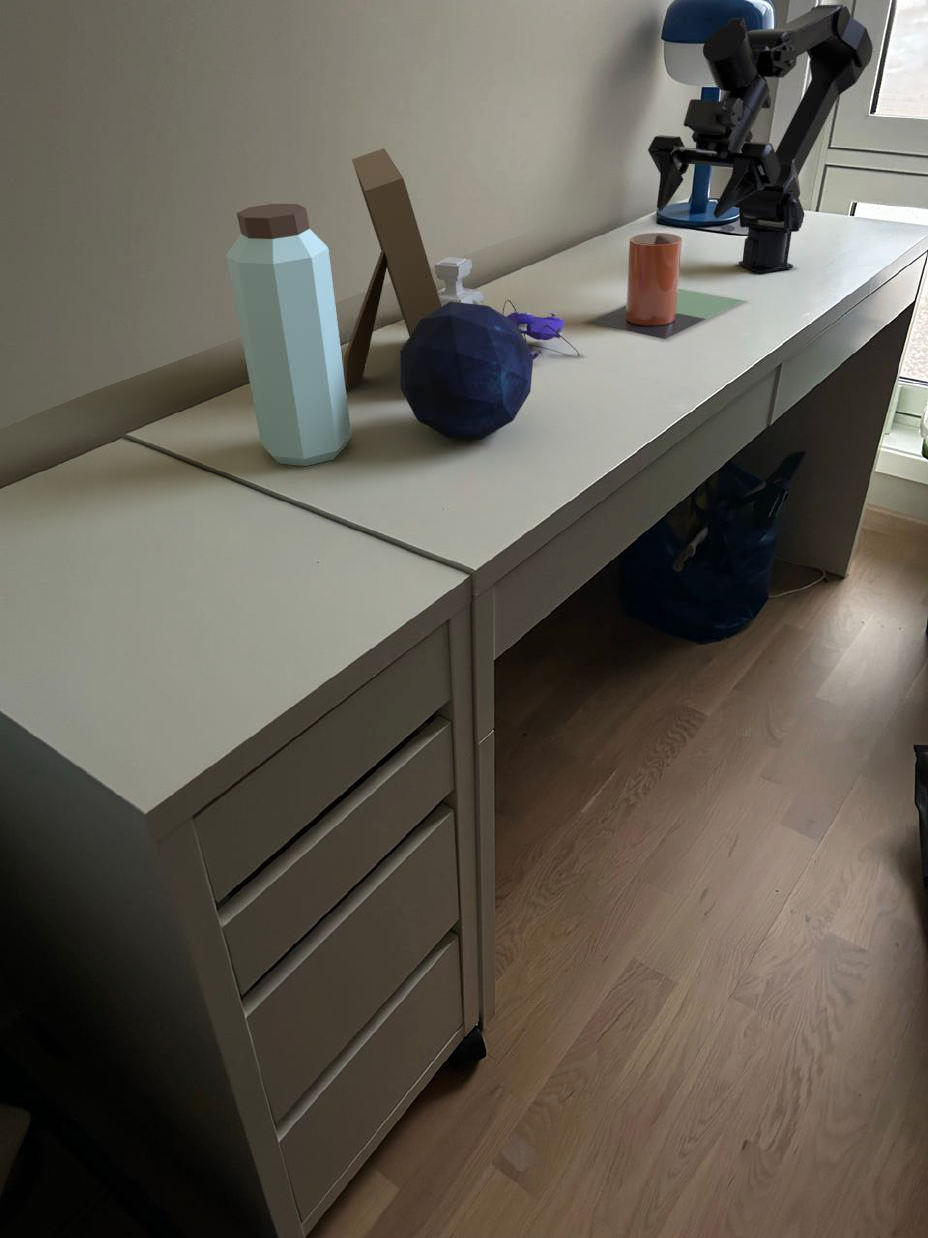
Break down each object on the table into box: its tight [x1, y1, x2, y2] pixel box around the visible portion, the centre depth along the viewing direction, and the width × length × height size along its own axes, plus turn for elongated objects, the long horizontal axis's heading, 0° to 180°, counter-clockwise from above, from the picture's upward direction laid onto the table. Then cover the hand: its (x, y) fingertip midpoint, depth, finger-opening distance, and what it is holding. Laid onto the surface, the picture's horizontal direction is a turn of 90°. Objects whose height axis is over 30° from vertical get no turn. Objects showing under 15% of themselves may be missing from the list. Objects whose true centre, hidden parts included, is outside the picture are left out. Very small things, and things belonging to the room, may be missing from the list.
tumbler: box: [625, 232, 683, 326], centre depth 133 cm, size 7×7×11 cm
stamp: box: [434, 256, 486, 306], centre depth 139 cm, size 9×7×8 cm
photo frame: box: [343, 147, 442, 391], centre depth 118 cm, size 15×22×25 cm
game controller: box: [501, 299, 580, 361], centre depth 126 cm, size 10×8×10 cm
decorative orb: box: [399, 302, 534, 441], centre depth 103 cm, size 14×15×15 cm
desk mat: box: [588, 288, 743, 340], centre depth 139 cm, size 21×13×1 cm, turn 137°
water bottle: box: [226, 203, 352, 467], centre depth 98 cm, size 10×10×25 cm
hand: (686, 212), depth 134 cm, fingers open, 9 cm apart
